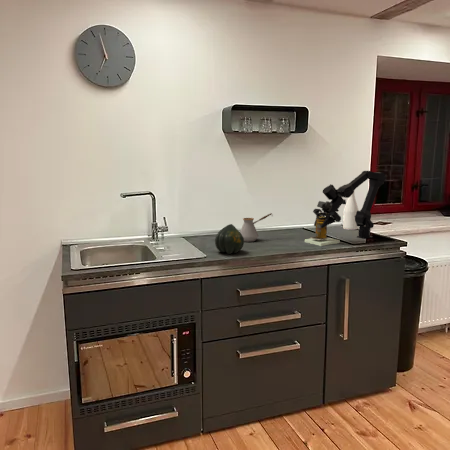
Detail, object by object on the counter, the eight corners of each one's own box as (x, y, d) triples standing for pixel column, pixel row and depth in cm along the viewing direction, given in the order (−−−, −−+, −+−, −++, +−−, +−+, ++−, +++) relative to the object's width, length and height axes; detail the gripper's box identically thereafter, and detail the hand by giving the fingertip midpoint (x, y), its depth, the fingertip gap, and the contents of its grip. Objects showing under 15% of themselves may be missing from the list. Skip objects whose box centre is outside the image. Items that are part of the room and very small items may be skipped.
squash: (216, 246, 214) (234, 221, 216) (205, 242, 228) (222, 219, 230) (237, 262, 219) (254, 238, 222) (225, 257, 233) (241, 235, 235)
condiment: (330, 238, 243) (330, 217, 241) (318, 240, 239) (318, 218, 237) (320, 236, 249) (321, 215, 247) (309, 238, 245) (309, 216, 243)
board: (322, 239, 255) (322, 236, 254) (339, 242, 244) (339, 240, 243) (304, 242, 247) (304, 239, 247) (321, 246, 236) (321, 243, 236)
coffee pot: (243, 243, 247) (243, 216, 245) (235, 239, 258) (235, 214, 255) (277, 239, 255) (277, 214, 252) (268, 236, 265) (268, 211, 263)
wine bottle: (343, 230, 283) (345, 183, 278) (342, 227, 292) (343, 182, 287) (359, 230, 281) (360, 183, 276) (357, 227, 290) (358, 182, 286)
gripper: (315, 194, 250) (299, 215, 248) (337, 197, 233) (319, 219, 231) (326, 207, 255) (311, 227, 252) (348, 210, 238) (331, 232, 235)
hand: (317, 226), depth 242 cm, fingers closed on condiment, 6 cm apart
